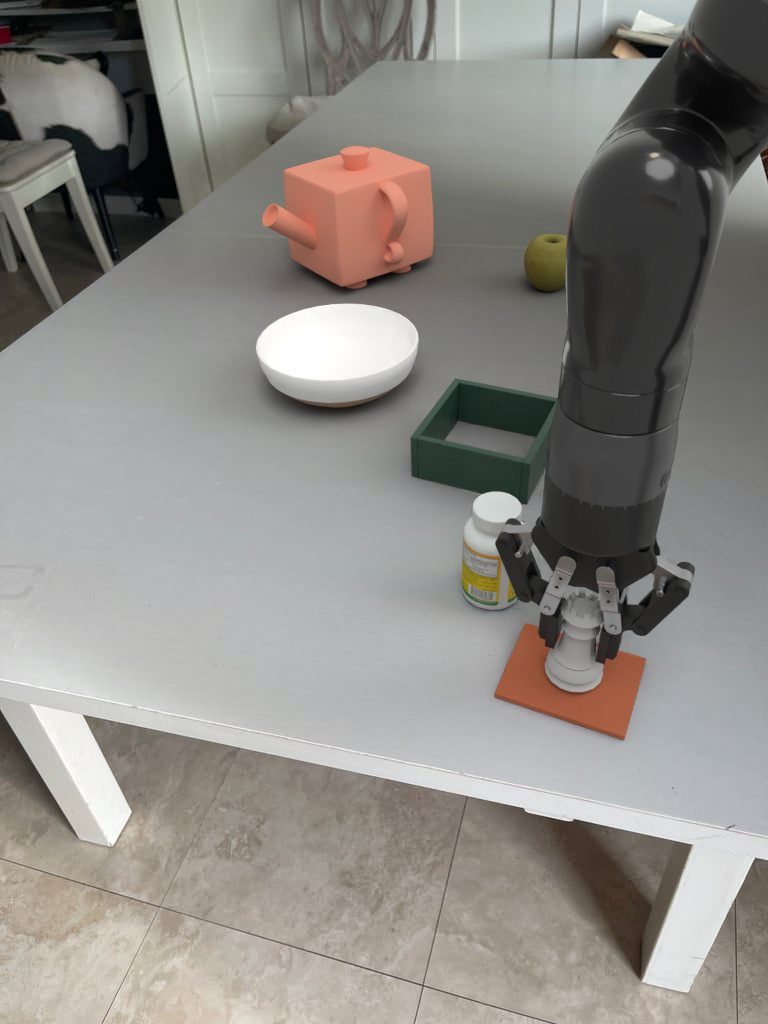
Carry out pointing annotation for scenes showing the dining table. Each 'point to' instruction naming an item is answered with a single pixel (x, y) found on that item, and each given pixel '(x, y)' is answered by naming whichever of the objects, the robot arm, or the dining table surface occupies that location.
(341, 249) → the teapot
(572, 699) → the mat
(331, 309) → the bowl
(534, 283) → the apple
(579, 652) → the rook chess piece
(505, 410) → the holder
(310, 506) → the dining table surface
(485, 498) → the supplement bottle
